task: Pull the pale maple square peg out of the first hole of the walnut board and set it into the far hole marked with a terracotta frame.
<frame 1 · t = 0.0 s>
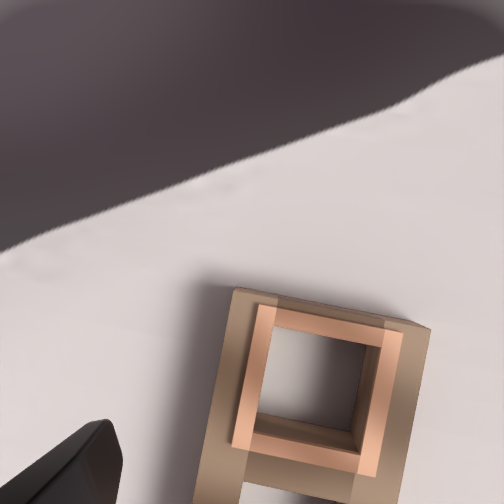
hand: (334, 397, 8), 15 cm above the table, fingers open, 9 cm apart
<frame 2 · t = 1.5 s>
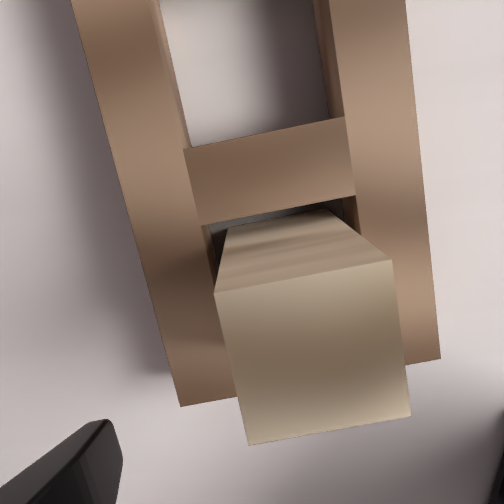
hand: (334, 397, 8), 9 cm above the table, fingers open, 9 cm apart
walnut hole board: (246, 60, 16), on the table
maple peg: (285, 265, 18), resting in walnut hole board
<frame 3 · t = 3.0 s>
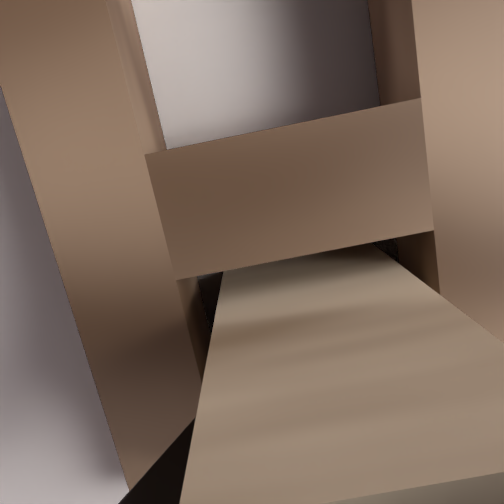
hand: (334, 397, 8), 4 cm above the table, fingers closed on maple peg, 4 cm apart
walnut hole board: (252, 13, 10), on the table
maple peg: (308, 325, 12), resting in walnut hole board, touching gripper
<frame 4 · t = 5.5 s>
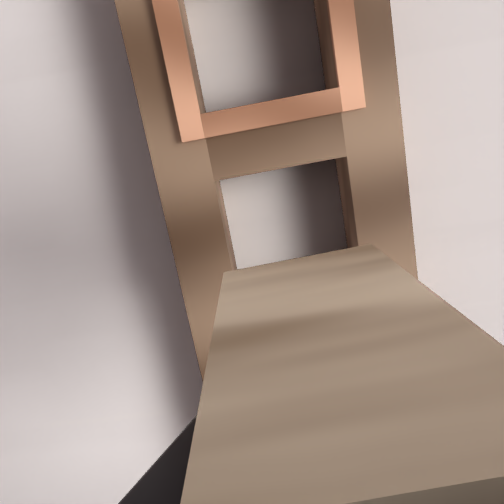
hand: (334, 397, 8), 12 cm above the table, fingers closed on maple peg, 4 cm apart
walnut hole board: (286, 224, 20), on the table
maple peg: (309, 326, 12), point 9 cm above the table, touching gripper
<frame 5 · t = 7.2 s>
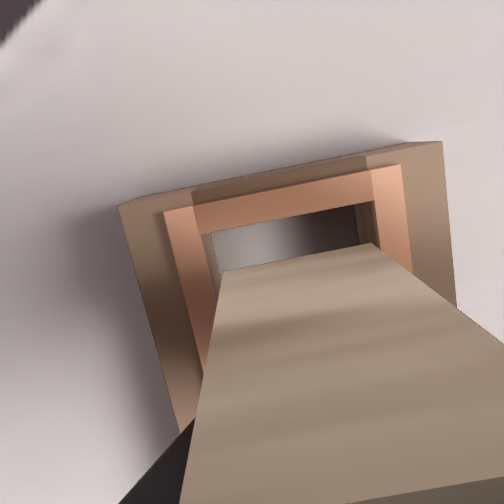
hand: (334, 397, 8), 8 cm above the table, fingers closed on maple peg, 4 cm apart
walnut hole board: (324, 450, 18), on the table
maple peg: (309, 325, 12), point 5 cm above the table, touching gripper
when the fingers open (4 cm above the table, at t = 8.3 s): maple peg drops 1 cm, resting in walnut hole board.
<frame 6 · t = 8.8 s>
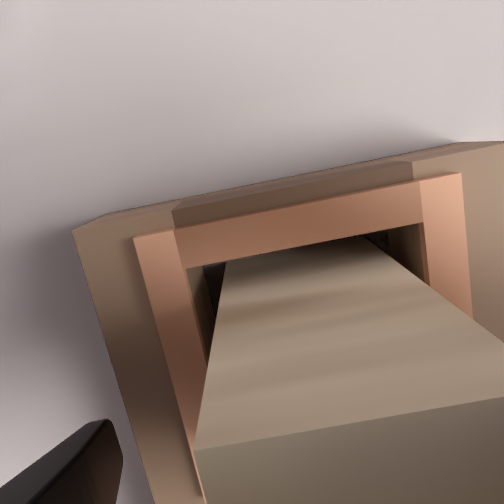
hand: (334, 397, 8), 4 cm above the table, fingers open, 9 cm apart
maple peg: (305, 312, 13), resting in walnut hole board
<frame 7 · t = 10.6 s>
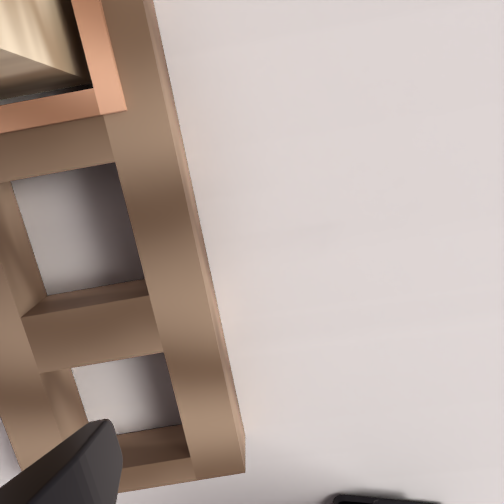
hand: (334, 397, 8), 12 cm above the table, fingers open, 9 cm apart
walnut hole board: (87, 229, 19), on the table
maple peg: (33, 38, 17), resting in walnut hole board
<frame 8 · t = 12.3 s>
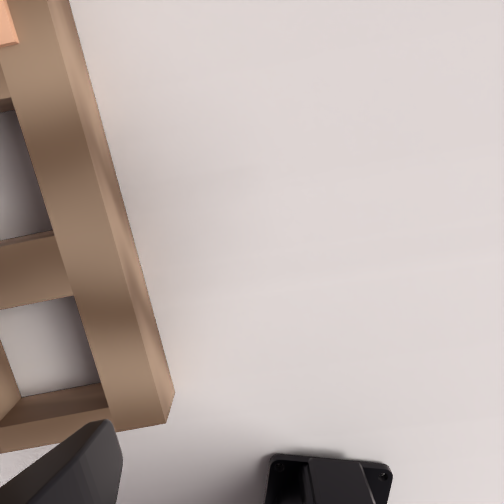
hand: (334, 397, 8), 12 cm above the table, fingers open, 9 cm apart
walnut hole board: (2, 178, 19), on the table
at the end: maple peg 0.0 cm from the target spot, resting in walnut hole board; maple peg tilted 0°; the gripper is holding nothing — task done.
